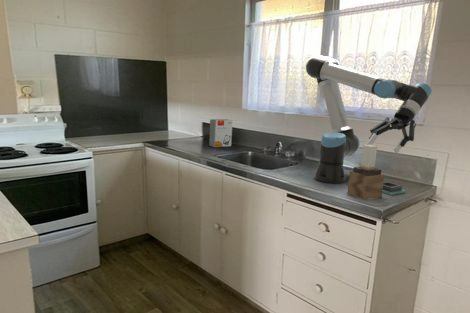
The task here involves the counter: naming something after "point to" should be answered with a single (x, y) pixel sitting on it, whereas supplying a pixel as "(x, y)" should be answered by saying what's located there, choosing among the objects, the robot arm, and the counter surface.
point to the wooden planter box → (366, 183)
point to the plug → (368, 157)
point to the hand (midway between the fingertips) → (381, 148)
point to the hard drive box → (220, 132)
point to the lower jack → (392, 188)
